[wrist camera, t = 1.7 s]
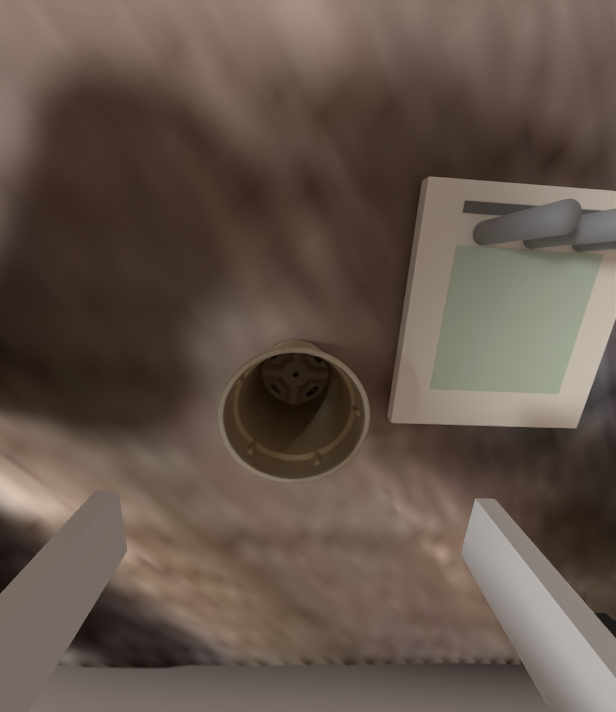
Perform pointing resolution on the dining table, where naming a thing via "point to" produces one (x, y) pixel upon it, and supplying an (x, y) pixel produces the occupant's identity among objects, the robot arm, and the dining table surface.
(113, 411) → the dining table surface
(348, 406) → the flower pot
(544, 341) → the board
